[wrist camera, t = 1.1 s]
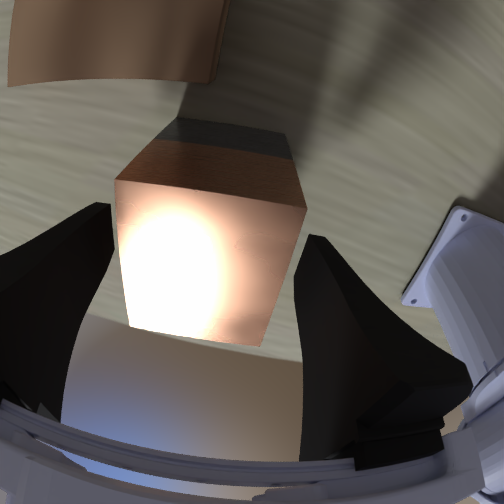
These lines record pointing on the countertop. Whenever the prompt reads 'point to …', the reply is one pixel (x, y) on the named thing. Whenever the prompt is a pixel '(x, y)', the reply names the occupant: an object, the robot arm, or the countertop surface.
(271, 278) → the block
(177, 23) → the walnut stand
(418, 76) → the countertop surface
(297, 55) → the countertop surface
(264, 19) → the countertop surface
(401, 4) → the countertop surface
